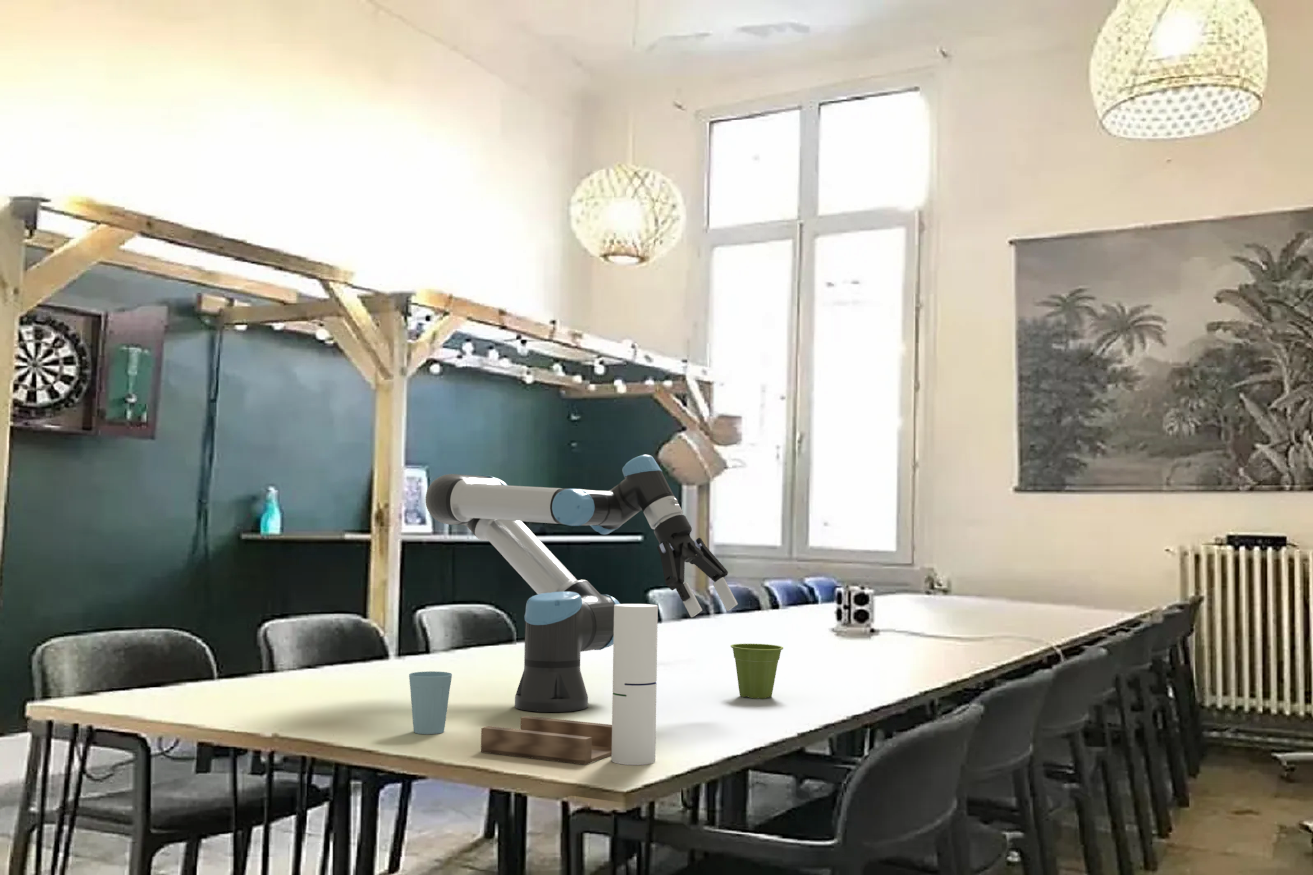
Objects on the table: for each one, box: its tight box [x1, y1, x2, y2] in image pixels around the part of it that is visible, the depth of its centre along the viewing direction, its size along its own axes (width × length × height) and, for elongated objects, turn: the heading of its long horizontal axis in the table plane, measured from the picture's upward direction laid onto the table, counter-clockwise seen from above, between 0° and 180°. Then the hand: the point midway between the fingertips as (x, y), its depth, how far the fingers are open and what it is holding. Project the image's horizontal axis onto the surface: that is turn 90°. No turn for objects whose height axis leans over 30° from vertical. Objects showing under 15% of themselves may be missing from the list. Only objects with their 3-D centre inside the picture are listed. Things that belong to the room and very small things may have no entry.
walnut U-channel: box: [480, 715, 612, 766], centre depth 199 cm, size 20×14×4 cm
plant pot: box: [730, 643, 784, 700], centre depth 265 cm, size 12×12×11 cm
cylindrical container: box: [610, 603, 659, 766], centre depth 193 cm, size 7×7×25 cm
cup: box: [408, 670, 453, 735], centre depth 215 cm, size 8×8×10 cm
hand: (715, 610), depth 242 cm, fingers open, 13 cm apart
